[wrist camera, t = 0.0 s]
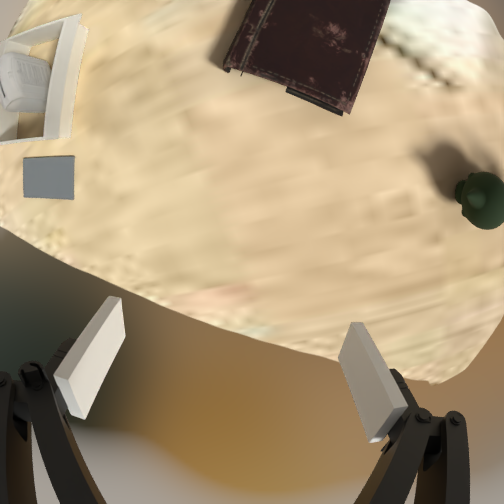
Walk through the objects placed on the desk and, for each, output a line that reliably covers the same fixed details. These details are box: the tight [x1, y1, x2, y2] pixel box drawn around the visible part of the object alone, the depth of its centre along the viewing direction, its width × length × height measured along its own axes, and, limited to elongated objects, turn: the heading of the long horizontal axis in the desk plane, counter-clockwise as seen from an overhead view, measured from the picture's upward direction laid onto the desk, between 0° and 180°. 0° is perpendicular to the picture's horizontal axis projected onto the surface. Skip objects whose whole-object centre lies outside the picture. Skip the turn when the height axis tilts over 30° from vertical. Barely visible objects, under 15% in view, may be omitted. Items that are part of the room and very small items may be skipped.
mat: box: [23, 156, 75, 200], centre depth 38 cm, size 7×12×1 cm, turn 82°
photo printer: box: [0, 52, 52, 113], centre depth 27 cm, size 10×4×12 cm, turn 22°
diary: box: [223, 0, 390, 116], centre depth 30 cm, size 19×25×5 cm
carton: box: [0, 13, 89, 145], centre depth 29 cm, size 19×19×7 cm
